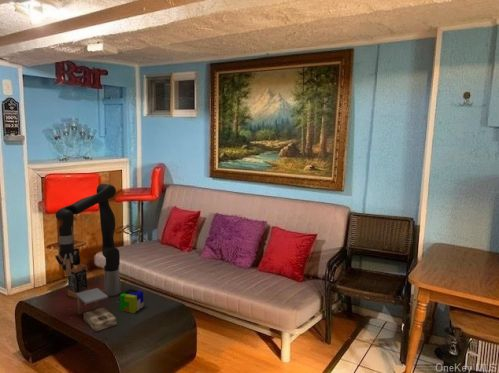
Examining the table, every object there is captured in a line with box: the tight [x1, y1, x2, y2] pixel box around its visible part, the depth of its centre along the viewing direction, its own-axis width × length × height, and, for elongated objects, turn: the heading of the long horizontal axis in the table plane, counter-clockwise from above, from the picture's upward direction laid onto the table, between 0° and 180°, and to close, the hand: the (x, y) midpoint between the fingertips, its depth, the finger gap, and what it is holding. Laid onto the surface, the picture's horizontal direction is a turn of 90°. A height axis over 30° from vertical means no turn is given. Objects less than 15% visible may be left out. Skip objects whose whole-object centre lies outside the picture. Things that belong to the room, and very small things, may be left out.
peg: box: [64, 258, 71, 276], centre depth 237 cm, size 3×3×10 cm
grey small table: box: [76, 287, 109, 315], centre depth 234 cm, size 13×16×13 cm
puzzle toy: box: [119, 288, 145, 314], centre depth 244 cm, size 10×10×10 cm
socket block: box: [82, 306, 118, 332], centre depth 227 cm, size 12×18×4 cm, turn 43°
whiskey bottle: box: [67, 248, 89, 300], centre depth 261 cm, size 10×10×32 cm
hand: (67, 269), depth 237 cm, fingers closed on peg, 3 cm apart
